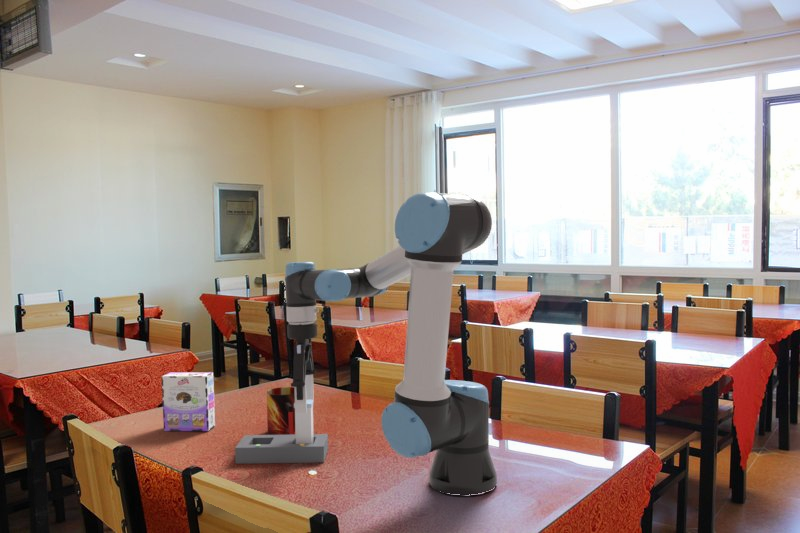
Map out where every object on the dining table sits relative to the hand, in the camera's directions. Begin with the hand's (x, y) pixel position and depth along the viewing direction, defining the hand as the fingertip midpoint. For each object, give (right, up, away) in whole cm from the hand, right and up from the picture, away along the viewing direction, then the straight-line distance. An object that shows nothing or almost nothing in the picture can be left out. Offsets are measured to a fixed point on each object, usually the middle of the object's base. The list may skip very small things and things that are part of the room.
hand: (304, 405), depth 162 cm
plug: (0, -13, +1) cm, 13 cm away
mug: (-8, -13, +20) cm, 25 cm away
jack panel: (-6, -13, +1) cm, 14 cm away
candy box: (-38, -13, +26) cm, 47 cm away
